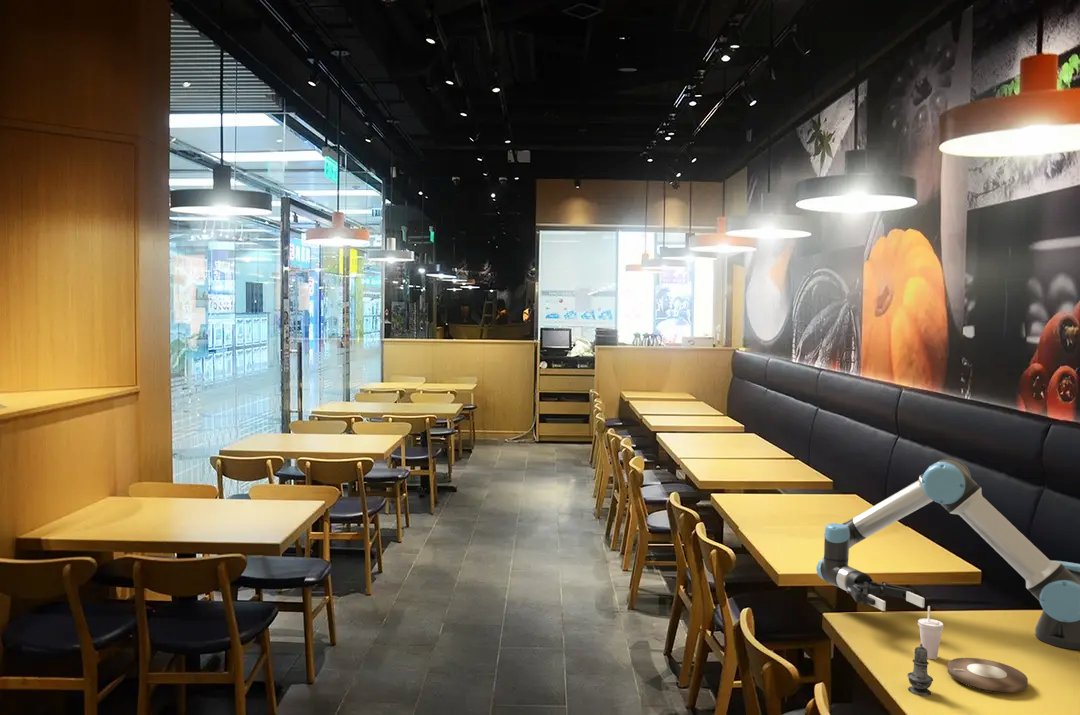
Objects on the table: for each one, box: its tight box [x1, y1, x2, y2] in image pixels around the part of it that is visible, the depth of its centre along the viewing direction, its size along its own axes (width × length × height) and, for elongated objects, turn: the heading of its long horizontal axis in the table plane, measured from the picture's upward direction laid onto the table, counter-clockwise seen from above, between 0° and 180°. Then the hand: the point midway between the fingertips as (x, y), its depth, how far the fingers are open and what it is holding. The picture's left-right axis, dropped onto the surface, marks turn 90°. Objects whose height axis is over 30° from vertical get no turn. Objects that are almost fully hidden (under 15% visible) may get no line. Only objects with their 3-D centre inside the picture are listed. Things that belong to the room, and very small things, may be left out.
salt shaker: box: [906, 643, 934, 697], centre depth 199 cm, size 6×6×12 cm
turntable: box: [946, 657, 1029, 693], centre depth 206 cm, size 18×18×2 cm
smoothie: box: [917, 605, 945, 660], centre depth 222 cm, size 6×6×14 cm
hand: (904, 604), depth 231 cm, fingers open, 13 cm apart
